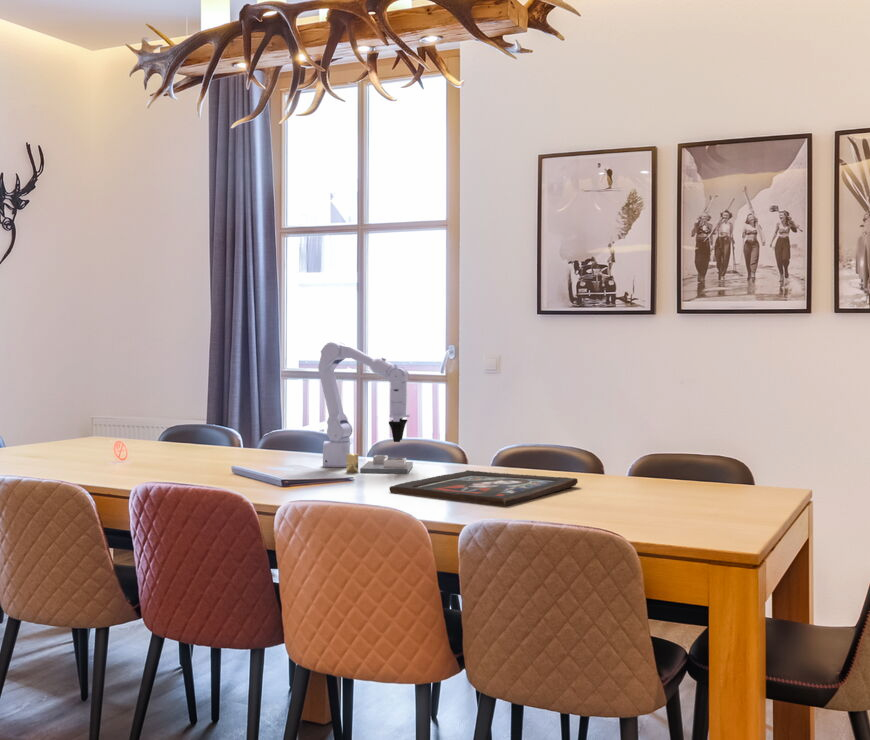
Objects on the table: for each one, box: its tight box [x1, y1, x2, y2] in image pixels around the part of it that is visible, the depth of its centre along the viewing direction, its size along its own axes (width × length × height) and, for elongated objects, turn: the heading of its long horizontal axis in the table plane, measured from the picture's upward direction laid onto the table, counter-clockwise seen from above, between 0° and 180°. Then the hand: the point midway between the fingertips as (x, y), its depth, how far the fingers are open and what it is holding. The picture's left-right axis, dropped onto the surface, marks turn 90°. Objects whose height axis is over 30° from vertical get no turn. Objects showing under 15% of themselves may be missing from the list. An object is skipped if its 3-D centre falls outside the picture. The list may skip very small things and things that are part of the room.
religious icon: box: [388, 470, 579, 507], centre depth 259 cm, size 40×45×3 cm
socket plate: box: [359, 454, 414, 475], centre depth 303 cm, size 16×20×4 cm
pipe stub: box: [345, 453, 359, 474], centre depth 296 cm, size 4×4×6 cm
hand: (397, 440), depth 305 cm, fingers open, 7 cm apart
